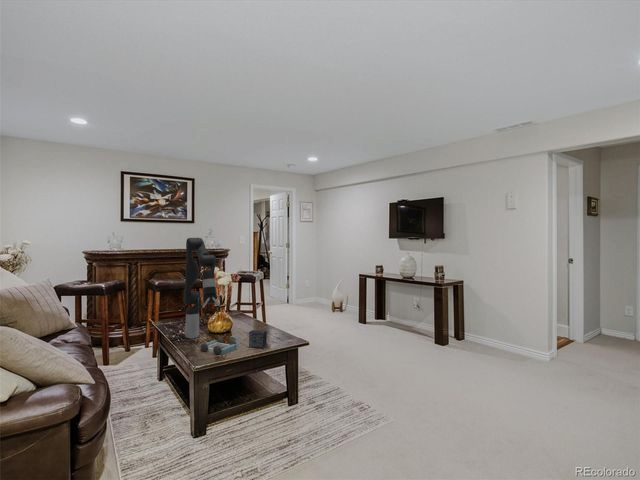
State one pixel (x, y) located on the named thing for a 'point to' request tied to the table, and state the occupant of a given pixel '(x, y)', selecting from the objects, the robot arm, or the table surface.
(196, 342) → the table surface
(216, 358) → the table surface
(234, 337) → the block
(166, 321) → the table surface
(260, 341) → the small box
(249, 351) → the table surface
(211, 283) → the robot arm
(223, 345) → the chassis
